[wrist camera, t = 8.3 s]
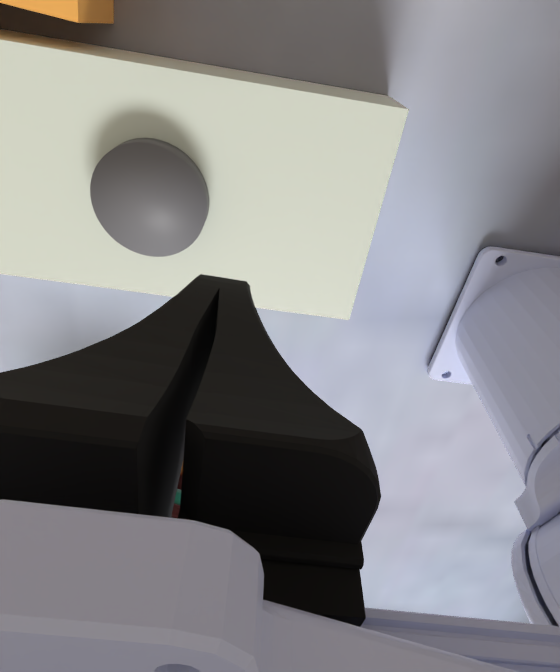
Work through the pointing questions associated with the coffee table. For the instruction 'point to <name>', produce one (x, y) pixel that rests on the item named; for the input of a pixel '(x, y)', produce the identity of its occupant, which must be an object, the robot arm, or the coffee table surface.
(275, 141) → the white notched block
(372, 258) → the coffee table surface
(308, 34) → the coffee table surface
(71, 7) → the chute block
